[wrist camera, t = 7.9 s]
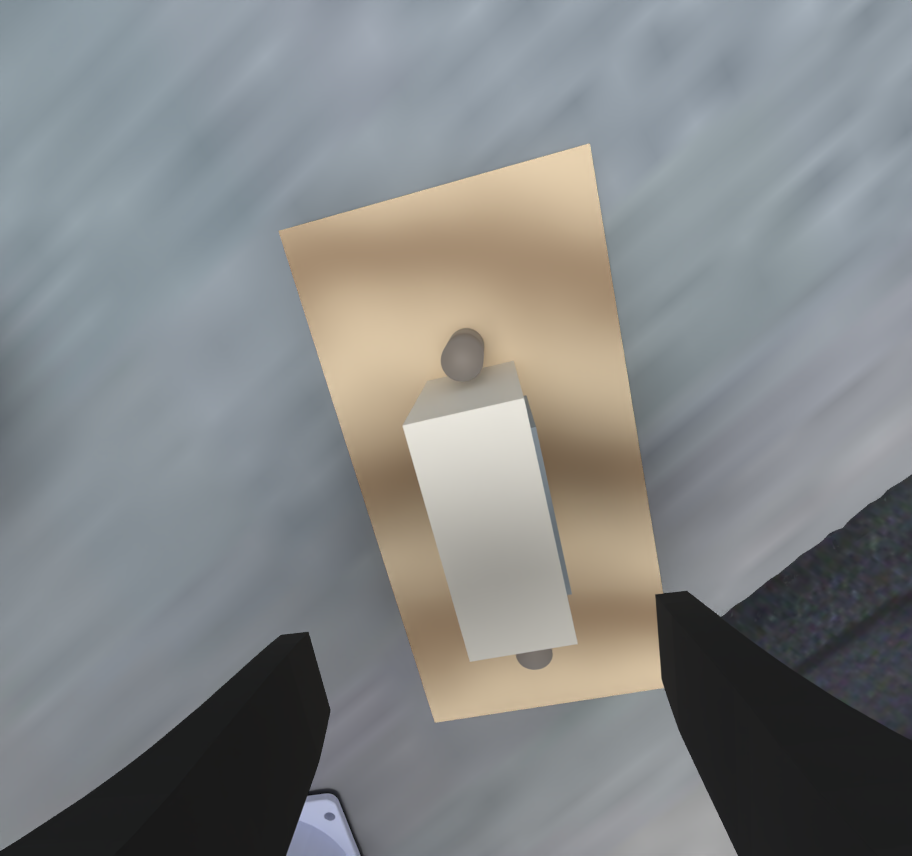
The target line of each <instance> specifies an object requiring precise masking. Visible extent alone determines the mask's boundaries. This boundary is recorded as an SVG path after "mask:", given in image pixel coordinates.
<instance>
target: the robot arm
mask: <svg viewBox="0 0 912 856" xmlns="http://www.w3.org/2000/svg"><path fill="white" fill-rule="evenodd" d="M655 599H656V612H657V626H658V639H659V652H660V666H661V679H662V682H663V685H664V688H665V691H666V694H667V697H668V700H669V703H670V706H671V709H672V712H673V715H674V718H675V720H676V723H677V726H678V729H679V732H680V734H681V736H682V738H683V740H684V742H685V745H686V747H687V749H688V751H689V753H690V755H691V757H692V760H693V762H694V764H695V766H696V768H697V770H698V772H699V774H700V777H701V779H702V781H703V783H704V785H705V787H706V789H707V791H708V793H709V796H710V798H711V800H712V802H713V804H714V806H715V808H716V810H717V812H718V814H719V817H720V819H721V821H722V823H723V825H724V827H725V829H726V831H727V833H728V836H729V838H730V840H731V842H732V844H733V846H734V848H735V850H736V852H737V855H738V856H912V740H910V739H908V738H906V737H904V736H902V735H900V734H898V733H897V732H895V731H893V730H891V729H889V728H888V727H886V726H884V725H882V724H881V723H879V722H877V721H875V720H873V719H872V718H870V717H868V716H866V715H865V714H863V713H861V712H859V711H858V710H856V709H854V708H852V707H851V706H849V705H847V704H846V703H844V702H842V701H841V700H839V699H837V698H836V697H834V696H832V695H831V694H829V693H827V692H826V691H824V690H823V689H821V688H820V687H818V686H817V685H815V684H814V683H812V682H811V681H809V680H807V679H806V678H804V677H803V676H801V675H800V674H798V673H797V672H795V671H794V670H792V669H791V668H789V667H788V666H786V665H785V664H783V663H782V662H780V661H779V660H778V659H776V658H775V657H773V656H772V655H770V654H769V653H768V652H766V651H765V650H764V649H762V648H761V647H759V646H758V645H757V644H755V643H754V642H752V641H751V640H750V639H748V638H747V637H746V636H744V635H743V634H742V633H740V632H739V631H738V630H737V629H735V628H734V627H733V626H731V625H730V624H729V623H727V622H726V621H725V620H724V619H722V618H721V617H720V616H718V615H717V614H716V613H715V612H713V611H712V610H711V609H710V608H708V607H707V606H706V605H704V604H703V603H702V602H701V601H699V600H698V599H697V598H695V597H694V596H693V595H691V594H690V593H689V592H688V591H682V592H672V593H663V594H655ZM329 715H330V707H329V703H328V699H327V696H326V692H325V689H324V685H323V682H322V678H321V675H320V671H319V668H318V664H317V661H316V657H315V654H314V650H313V646H312V643H311V639H310V636H309V632H303V633H294V634H285V635H281V636H279V637H278V638H277V639H275V640H274V641H273V642H272V643H270V644H269V645H268V646H267V647H266V648H265V649H263V650H262V651H261V652H260V653H259V654H258V655H257V656H256V657H254V658H253V659H252V660H251V661H250V662H249V663H248V664H247V665H246V666H244V667H243V668H242V669H241V670H240V671H239V672H238V673H237V674H236V675H234V676H233V677H232V678H231V679H230V680H229V681H228V682H227V683H226V684H224V685H223V686H222V687H221V688H220V689H219V690H218V691H217V692H215V693H214V694H213V695H212V696H211V697H210V698H209V699H208V700H207V701H205V702H204V703H203V704H202V705H201V706H200V707H199V708H197V709H196V710H195V711H194V712H193V713H191V714H190V715H189V716H188V717H187V718H185V719H184V720H183V721H182V722H181V723H179V724H178V725H177V726H176V727H175V728H173V729H172V730H171V731H170V732H169V733H167V734H166V735H165V736H164V737H163V738H162V739H160V740H159V741H158V742H157V743H156V744H154V745H153V746H152V747H151V748H149V749H148V750H147V751H146V752H144V753H143V754H142V755H140V756H139V757H138V758H137V759H135V760H134V761H133V762H131V763H130V764H129V765H127V766H126V767H125V768H123V769H122V770H121V771H119V772H118V773H117V774H115V775H114V776H112V777H111V778H110V779H108V780H107V781H106V782H104V783H103V784H101V785H100V786H99V787H97V788H96V789H95V790H93V791H92V792H90V793H89V794H87V795H86V796H85V797H83V798H82V799H80V800H79V801H77V802H76V803H74V804H73V805H71V806H70V807H68V808H67V809H65V810H64V811H62V812H60V813H59V814H57V815H56V816H54V817H53V818H51V819H50V820H48V821H47V822H45V823H44V824H42V825H41V826H39V827H38V828H36V829H35V830H33V831H31V832H30V833H28V834H27V835H25V836H24V837H22V838H21V839H19V840H18V841H16V842H14V843H13V844H11V845H10V846H8V847H6V848H5V849H3V850H1V851H0V856H360V853H359V850H358V848H357V845H356V843H355V840H354V838H353V835H352V833H351V830H350V828H349V825H348V823H347V820H346V818H345V815H344V813H343V810H342V808H341V805H340V803H339V800H338V799H337V797H336V796H334V795H333V794H330V793H325V794H318V795H311V796H307V795H308V793H309V790H310V787H311V784H312V781H313V778H314V775H315V772H316V769H317V766H318V763H319V760H320V756H321V752H322V747H323V743H324V739H325V734H326V730H327V725H328V720H329Z"/></svg>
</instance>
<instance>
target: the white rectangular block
mask: <svg viewBox="0 0 912 856" xmlns="http://www.w3.org/2000/svg"><path fill="white" fill-rule="evenodd" d="M402 426H403V429H404V433H405V436H406V440H407V443H408V447H409V450H410V454H411V457H412V461H413V464H414V468H415V471H416V475H417V478H418V482H419V485H420V489H421V492H422V496H423V499H424V503H425V506H426V510H427V513H428V517H429V520H430V524H431V527H432V531H433V534H434V538H435V541H436V545H437V548H438V552H439V555H440V559H441V562H442V566H443V569H444V573H445V576H446V580H447V583H448V587H449V590H450V594H451V597H452V601H453V604H454V608H455V611H456V615H457V618H458V622H459V625H460V629H461V632H462V636H463V639H464V643H465V646H466V650H467V653H468V657H469V660H470V662H472V661H478V660H484V659H490V658H496V657H502V656H508V655H514V654H520V653H526V652H532V651H539V650H545V649H551V648H557V647H563V646H569V645H575V644H578V643H577V638H576V634H575V629H574V624H573V620H572V615H571V611H570V606H569V602H568V597H567V595H571V594H572V592H571V587H570V582H569V578H568V573H567V568H566V564H565V559H564V555H563V550H562V545H561V541H560V536H559V531H558V527H557V522H556V517H555V513H554V508H553V504H552V499H551V494H550V490H549V485H548V480H547V476H546V471H545V466H544V462H543V457H542V453H541V448H540V443H539V439H538V434H537V429H536V425H535V422H534V419H533V415H532V412H531V409H530V406H529V402H528V399H527V396H526V395H525V396H523V393H522V389H521V385H520V382H519V378H518V375H517V371H516V367H515V364H514V361H510V362H505V363H501V364H497V365H493V366H488V367H484V368H482V370H481V371H480V373H479V374H478V375H477V376H476V377H475V378H474V379H472V380H470V381H466V382H459V381H455V380H453V379H451V378H449V377H448V376H446V377H442V378H437V379H433V380H429V381H427V383H426V384H425V386H424V388H423V390H422V391H421V393H420V395H419V397H418V399H417V400H416V402H415V404H414V406H413V408H412V409H411V411H410V413H409V415H408V416H407V418H406V420H405V422H404V424H403V425H402Z"/></svg>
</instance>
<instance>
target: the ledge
mask: <svg viewBox="0 0 912 856" xmlns="http://www.w3.org/2000/svg"><path fill="white" fill-rule="evenodd" d="M279 234H280V237H281V240H282V243H283V247H284V250H285V253H286V256H287V259H288V262H289V265H290V269H291V272H292V275H293V278H294V281H295V284H296V287H297V291H298V294H299V297H300V300H301V303H302V306H303V309H304V313H305V316H306V319H307V322H308V325H309V328H310V331H311V335H312V338H313V341H314V344H315V347H316V350H317V353H318V357H319V360H320V363H321V366H322V369H323V372H324V375H325V379H326V382H327V385H328V388H329V391H330V394H331V397H332V401H333V404H334V407H335V410H336V413H337V416H338V419H339V423H340V426H341V429H342V432H343V435H344V438H345V441H346V445H347V448H348V451H349V454H350V457H351V460H352V463H353V467H354V470H355V473H356V476H357V479H358V482H359V485H360V489H361V492H362V495H363V498H364V501H365V504H366V508H367V511H368V514H369V517H370V520H371V523H372V526H373V530H374V533H375V536H376V539H377V542H378V545H379V548H380V552H381V555H382V558H383V561H384V564H385V567H386V570H387V574H388V577H389V580H390V583H391V586H392V589H393V592H394V596H395V599H396V602H397V605H398V608H399V611H400V614H401V618H402V621H403V624H404V627H405V630H406V633H407V636H408V640H409V643H410V646H411V649H412V652H413V655H414V658H415V662H416V665H417V668H418V671H419V674H420V677H421V680H422V684H423V687H424V690H425V693H426V696H427V699H428V702H429V706H430V709H431V712H432V715H433V718H434V721H435V723H436V722H443V721H450V720H456V719H463V718H469V717H476V716H482V715H489V714H496V713H502V712H509V711H515V710H522V709H528V708H535V707H541V706H548V705H555V704H561V703H568V702H574V701H581V700H587V699H594V698H601V697H607V696H614V695H620V694H627V693H633V692H640V691H647V690H653V689H660V688H664V685H663V682H662V679H661V666H660V652H659V639H658V626H657V612H656V599H655V594H663V590H662V584H661V578H660V571H659V565H658V559H657V553H656V547H655V541H654V535H653V528H652V522H651V516H650V510H649V504H648V498H647V492H646V486H645V479H644V473H643V467H642V461H641V455H640V449H639V443H638V436H637V430H636V424H635V418H634V412H633V406H632V400H631V393H630V387H629V381H628V375H627V369H626V363H625V357H624V351H623V344H622V338H621V332H620V326H619V320H618V314H617V308H616V301H615V295H614V289H613V283H612V277H611V271H610V265H609V259H608V252H607V246H606V240H605V234H604V228H603V222H602V216H601V209H600V203H599V197H598V191H597V185H596V179H595V173H594V167H593V160H592V154H591V148H590V144H586V145H582V146H579V147H575V148H572V149H568V150H565V151H561V152H558V153H554V154H550V155H547V156H543V157H540V158H536V159H533V160H529V161H526V162H522V163H518V164H515V165H511V166H508V167H504V168H501V169H497V170H494V171H490V172H486V173H483V174H479V175H476V176H472V177H469V178H465V179H462V180H458V181H454V182H451V183H447V184H444V185H440V186H437V187H433V188H430V189H426V190H422V191H419V192H415V193H412V194H408V195H405V196H401V197H398V198H394V199H391V200H387V201H383V202H380V203H376V204H373V205H369V206H366V207H362V208H359V209H355V210H351V211H348V212H344V213H341V214H337V215H334V216H330V217H327V218H323V219H319V220H316V221H312V222H309V223H305V224H302V225H298V226H295V227H291V228H287V229H284V230H280V231H279ZM510 361H514V364H515V367H516V371H517V375H518V378H519V382H520V385H521V389H522V393H523V396H525V395H526V396H527V399H528V402H529V406H530V409H531V412H532V415H533V419H534V422H535V425H536V429H537V434H538V439H539V443H540V448H541V453H542V457H543V462H544V466H545V471H546V476H547V480H548V485H549V490H550V494H551V499H552V504H553V508H554V513H555V517H556V522H557V527H558V531H559V536H560V541H561V545H562V550H563V555H564V559H565V564H566V568H567V573H568V578H569V582H570V587H571V592H572V594H571V595H567V597H568V602H569V606H570V611H571V615H572V620H573V624H574V629H575V634H576V638H577V643H578V644H575V645H569V646H563V647H557V648H551V649H545V650H539V651H532V652H526V653H520V654H514V655H508V656H502V657H496V658H490V659H484V660H478V661H472V662H470V660H469V657H468V653H467V650H466V646H465V643H464V639H463V636H462V632H461V629H460V625H459V622H458V618H457V615H456V611H455V608H454V604H453V601H452V597H451V594H450V590H449V587H448V583H447V580H446V576H445V573H444V569H443V566H442V562H441V559H440V555H439V552H438V548H437V545H436V541H435V538H434V534H433V531H432V527H431V524H430V520H429V517H428V513H427V510H426V506H425V503H424V499H423V496H422V492H421V489H420V485H419V482H418V478H417V475H416V471H415V468H414V464H413V461H412V457H411V454H410V450H409V447H408V443H407V440H406V436H405V433H404V429H403V426H402V425H403V424H404V422H405V420H406V418H407V416H408V415H409V413H410V411H411V409H412V408H413V406H414V404H415V402H416V400H417V399H418V397H419V395H420V393H421V391H422V390H423V388H424V386H425V384H426V383H427V381H429V380H433V379H437V378H442V377H446V376H448V377H449V378H451V379H453V380H455V381H459V382H466V381H470V380H472V379H474V378H475V377H476V376H477V375H478V374H479V373H480V371H481V370H482V368H484V367H488V366H493V365H497V364H501V363H505V362H510Z"/></svg>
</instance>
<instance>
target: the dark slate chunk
mask: <svg viewBox="0 0 912 856" xmlns="http://www.w3.org/2000/svg"><path fill="white" fill-rule="evenodd" d="M721 618H722V619H724V620H725V621H726V622H727V623H729V624H730V625H731V626H733V627H734V628H735V629H737V630H738V631H739V632H740V633H742V634H743V635H744V636H746V637H747V638H748V639H750V640H751V641H752V642H754V643H755V644H757V645H758V646H759V647H761V648H762V649H764V650H765V651H766V652H768V653H769V654H770V655H772V656H773V657H775V658H776V659H778V660H779V661H780V662H782V663H783V664H785V665H786V666H788V667H789V668H791V669H792V670H794V671H795V672H797V673H798V674H800V675H801V676H803V677H804V678H806V679H807V680H809V681H811V682H812V683H814V684H815V685H817V686H818V687H820V688H821V689H823V690H824V691H826V692H827V693H829V694H831V695H832V696H834V697H836V698H837V699H839V700H841V701H842V702H844V703H846V704H847V705H849V706H851V707H852V708H854V709H856V710H858V711H859V712H861V713H863V714H865V715H866V716H868V717H870V718H872V719H873V720H875V721H877V722H879V723H881V724H882V725H884V726H886V727H888V728H889V729H891V730H893V731H895V732H897V733H898V734H900V735H902V736H904V737H906V738H908V739H910V740H912V475H910V476H909V477H908V478H906V479H905V480H903V481H902V482H900V483H898V484H897V485H895V486H893V487H892V488H890V489H889V490H887V491H886V493H885V494H884V495H883V496H882V497H881V498H879V499H878V500H876V501H874V502H872V503H870V504H868V505H867V506H866V507H865V508H864V509H863V510H861V511H860V512H859V513H858V514H857V515H855V516H854V517H853V518H852V519H851V520H849V522H848V523H847V524H846V525H845V526H844V527H843V528H842V529H839V530H836V531H834V532H832V533H830V534H829V535H828V536H827V537H826V538H825V539H824V540H823V541H822V542H820V543H819V544H818V545H816V546H815V547H813V548H812V549H810V550H808V551H807V552H805V553H803V554H802V555H801V556H799V557H798V558H797V559H796V560H795V561H794V562H793V563H791V564H790V565H789V566H788V567H786V568H785V569H784V570H783V571H782V572H781V573H779V574H778V575H776V576H775V577H773V578H771V579H770V580H769V581H767V582H766V583H765V584H764V585H762V586H761V587H760V588H759V589H757V590H756V591H755V592H754V593H753V594H752V595H750V596H749V597H748V598H747V599H745V600H743V601H742V602H740V603H739V604H737V605H735V606H734V607H733V608H731V609H730V610H729V611H728V612H727V613H726V614H725V615H724V616H722V617H721Z"/></svg>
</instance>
